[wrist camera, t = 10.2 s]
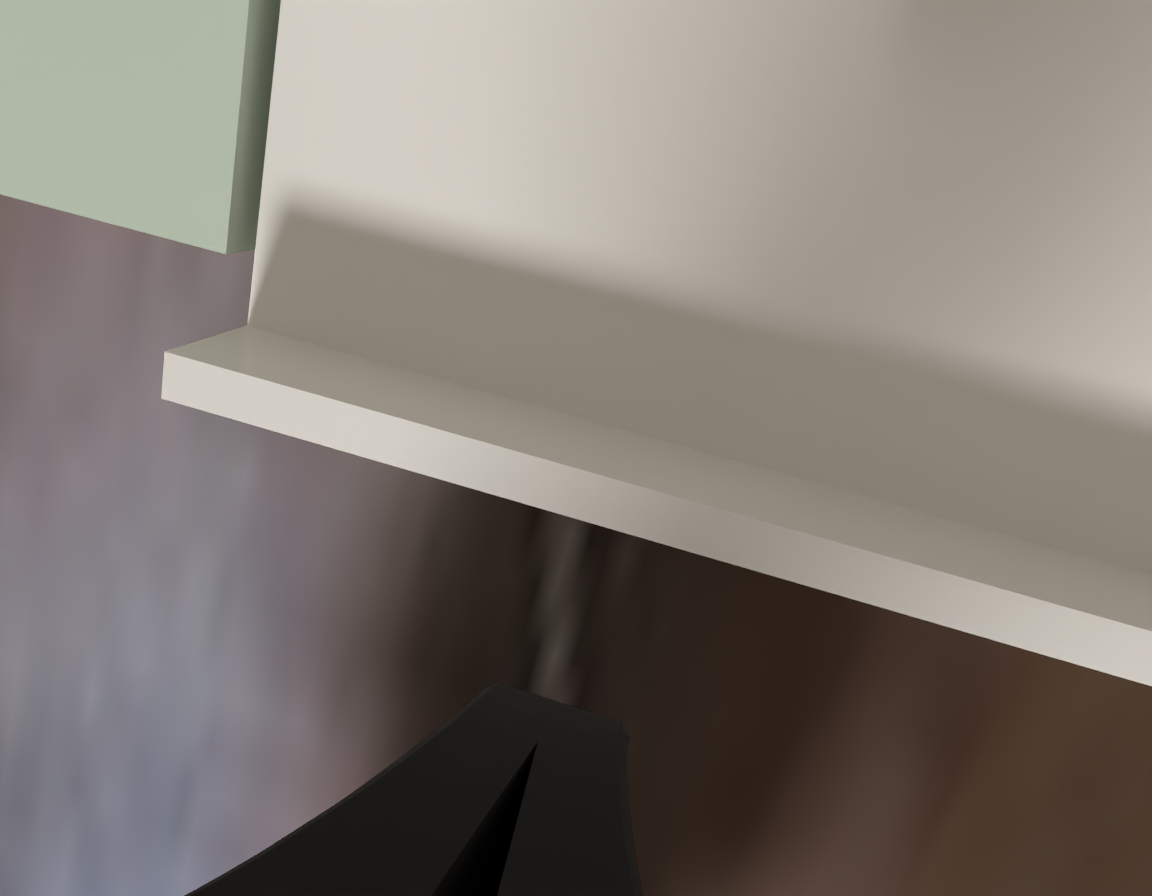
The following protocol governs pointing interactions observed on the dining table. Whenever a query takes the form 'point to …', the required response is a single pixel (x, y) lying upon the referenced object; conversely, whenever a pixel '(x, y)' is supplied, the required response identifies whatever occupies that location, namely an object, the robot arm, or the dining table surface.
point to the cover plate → (140, 112)
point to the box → (734, 285)
